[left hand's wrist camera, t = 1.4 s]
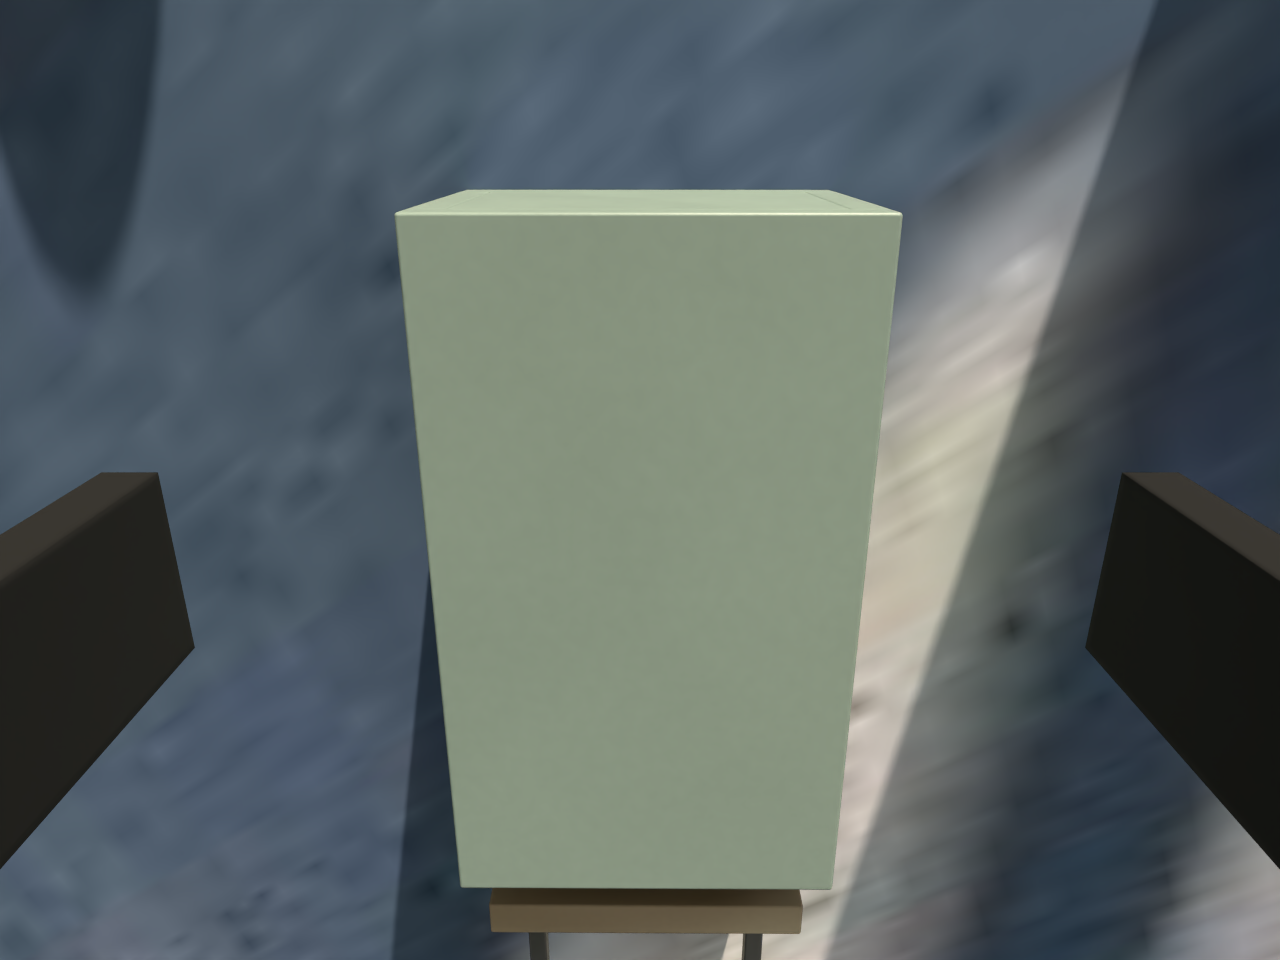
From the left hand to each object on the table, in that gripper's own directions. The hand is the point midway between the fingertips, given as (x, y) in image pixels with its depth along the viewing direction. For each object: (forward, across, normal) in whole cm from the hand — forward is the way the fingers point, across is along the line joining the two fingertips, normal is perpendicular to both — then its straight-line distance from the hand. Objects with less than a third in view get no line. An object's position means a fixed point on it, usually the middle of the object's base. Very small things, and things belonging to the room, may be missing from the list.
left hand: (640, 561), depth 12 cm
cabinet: (+18, 0, -6) cm, 18 cm away
